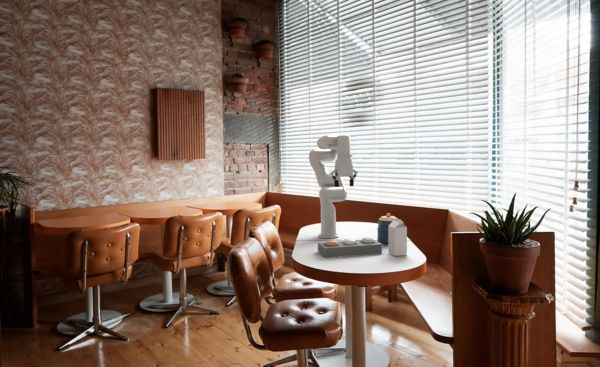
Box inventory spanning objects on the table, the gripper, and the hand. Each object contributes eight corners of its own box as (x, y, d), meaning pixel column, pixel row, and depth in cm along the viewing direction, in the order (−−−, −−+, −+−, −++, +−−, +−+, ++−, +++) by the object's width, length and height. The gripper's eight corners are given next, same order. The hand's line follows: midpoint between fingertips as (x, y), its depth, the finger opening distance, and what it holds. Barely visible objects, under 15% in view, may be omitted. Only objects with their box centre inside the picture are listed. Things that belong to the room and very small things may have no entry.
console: (317, 251, 231) (317, 242, 230) (372, 247, 238) (372, 238, 238) (324, 257, 218) (324, 248, 218) (382, 253, 226) (382, 244, 225)
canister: (399, 245, 243) (400, 215, 241) (376, 244, 245) (377, 214, 244) (399, 240, 255) (399, 211, 254) (377, 239, 258) (377, 211, 256)
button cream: (342, 243, 230) (342, 238, 230) (352, 243, 232) (352, 238, 231) (346, 246, 224) (346, 241, 224) (356, 245, 226) (356, 240, 225)
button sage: (360, 242, 233) (360, 237, 232) (370, 241, 234) (370, 237, 234) (364, 245, 227) (364, 240, 227) (375, 244, 228) (375, 239, 228)
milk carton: (394, 256, 219) (394, 220, 217) (388, 253, 226) (388, 218, 224) (406, 255, 221) (407, 219, 219) (400, 252, 228) (400, 217, 226)
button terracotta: (324, 245, 228) (323, 240, 227) (334, 244, 229) (334, 239, 229) (327, 247, 222) (327, 242, 222) (338, 246, 223) (338, 241, 223)
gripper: (353, 156, 246) (353, 185, 247) (327, 157, 239) (327, 187, 240) (360, 156, 239) (360, 186, 240) (333, 156, 232) (334, 187, 233)
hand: (344, 186), depth 240 cm, fingers open, 9 cm apart
